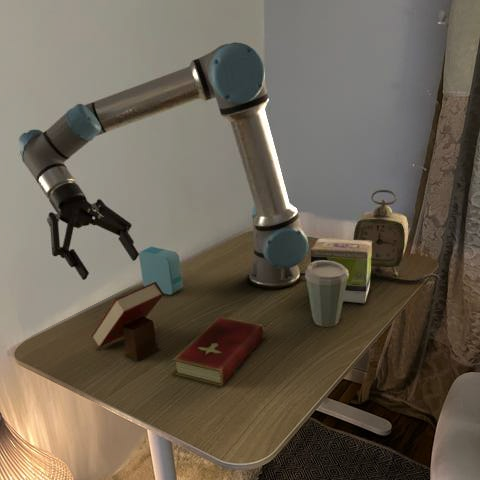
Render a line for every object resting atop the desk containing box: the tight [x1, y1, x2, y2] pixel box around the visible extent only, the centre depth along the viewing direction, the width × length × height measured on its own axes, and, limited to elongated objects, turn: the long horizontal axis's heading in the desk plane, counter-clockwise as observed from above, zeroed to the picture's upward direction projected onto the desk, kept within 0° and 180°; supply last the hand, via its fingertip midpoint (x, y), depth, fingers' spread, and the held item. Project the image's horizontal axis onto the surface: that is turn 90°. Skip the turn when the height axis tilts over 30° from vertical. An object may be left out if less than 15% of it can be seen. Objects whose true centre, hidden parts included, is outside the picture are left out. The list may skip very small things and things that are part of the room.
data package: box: [138, 246, 184, 296], centre depth 152 cm, size 12×4×12 cm, turn 55°
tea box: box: [310, 237, 372, 304], centre depth 141 cm, size 15×10×15 cm, turn 70°
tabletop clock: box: [352, 189, 409, 278], centre depth 151 cm, size 14×9×25 cm, turn 67°
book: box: [91, 282, 165, 349], centre depth 121 cm, size 20×11×4 cm
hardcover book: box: [172, 316, 265, 387], centre depth 119 cm, size 12×21×4 cm, turn 153°
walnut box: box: [122, 316, 159, 362], centre depth 121 cm, size 4×6×8 cm, turn 138°
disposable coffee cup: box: [304, 260, 349, 327], centre depth 128 cm, size 11×11×15 cm
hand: (112, 266), depth 117 cm, fingers open, 13 cm apart
